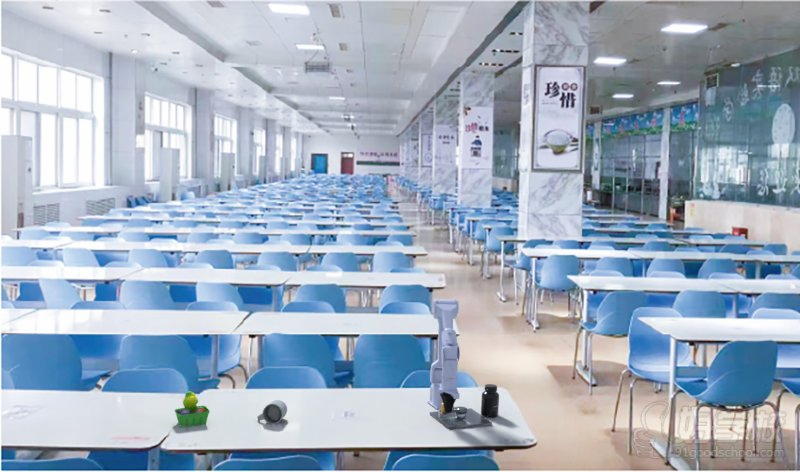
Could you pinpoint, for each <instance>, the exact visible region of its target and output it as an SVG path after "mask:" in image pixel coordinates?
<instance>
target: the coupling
mask: <svg viewBox="0 0 800 472" xmlns="http://www.w3.org/2000/svg"><path fill="white" fill-rule="evenodd" d="M467 409H468V408H467V407H466V406H454V408H452V412H451V413H455V412H456V413H461V414H463V413H467ZM441 414H442V415H446V414H447V413H446V412H445V410H444V404H443V403H441Z"/></svg>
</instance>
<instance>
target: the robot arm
mask: <svg viewBox="0 0 800 472" xmlns="http://www.w3.org/2000/svg"><path fill="white" fill-rule="evenodd" d="M459 304H460V303H459V300H458V299H457V298H455V299H443V298H442V299H440V298H439V299H438V298H434V300H433V303H432V317H433V319H435V320H437V324H438V330H437V331H438V339H437V343H438V344H437V359H436V360H435V361H434V362H432V363H431V365H430V372H429V380H430V383H431V385H430V387H429V388H430V389H429V401H427V403H428V404H429V405H430V406H432V408H434V409H436V410H438V409H441V403H443V404H444V410H445V412H446V413H451V412H452V409H455V402H456V401H457V400H460V393H459V391H458V387H457V386H458V365H459V363H458V362H459V360H460V355H461V352H460V351H461V349H460V345H459V343H458V338H457V332H456V330H455V329H454V319H456V317H458V314H459V310H460V309H459V307H460V306H459Z"/></svg>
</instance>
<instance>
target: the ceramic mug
mask: <svg viewBox="0 0 800 472" xmlns="http://www.w3.org/2000/svg"><path fill="white" fill-rule="evenodd" d="M287 406H288V405H287V404H286V402H284V401H282V400H280V399H276V400H273V401H271V402H269V403H268V404H267V405H265V406H264V407H263V410H262V413H261V414H258V416H257V420H258V421H263V420H264V421H265V423H267V424H269V425H277V424H279V423H280V422H281V421H282V420H283V419H284V417H286V415H287V412H288V407H287Z"/></svg>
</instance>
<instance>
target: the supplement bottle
mask: <svg viewBox="0 0 800 472" xmlns="http://www.w3.org/2000/svg"><path fill="white" fill-rule="evenodd" d="M497 391H498V385H497V384H492V383H487V384H486V383H485V384H484V390H483V392H482V393H481V401H480V403H481V406H480V415H482V416H483V417H484V418H489V419H491V418H492V419H494V418H497V417H498V416H499V407H500V406H499V405H500V394H499V392H497Z"/></svg>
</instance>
